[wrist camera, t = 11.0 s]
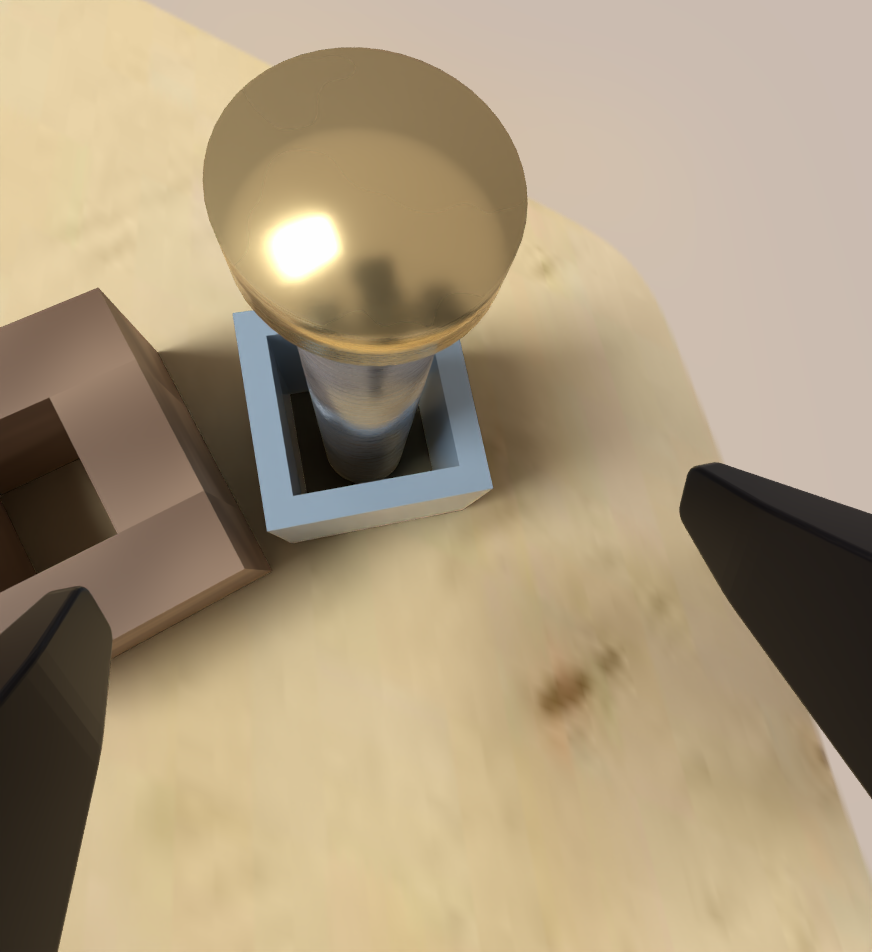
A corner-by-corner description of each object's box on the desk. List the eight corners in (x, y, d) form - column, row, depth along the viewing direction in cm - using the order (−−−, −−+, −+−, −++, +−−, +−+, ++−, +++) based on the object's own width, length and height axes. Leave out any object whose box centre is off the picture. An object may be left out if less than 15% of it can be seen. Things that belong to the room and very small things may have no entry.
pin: (437, 470, 21) (582, 262, 7) (338, 519, 20) (291, 387, 6) (388, 377, 21) (438, 13, 7) (289, 421, 20) (148, 101, 7)
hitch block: (272, 571, 19) (244, 568, 15) (8, 715, 17) (-114, 761, 13) (156, 351, 20) (98, 287, 16) (-106, 467, 18) (-256, 431, 14)
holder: (462, 510, 20) (493, 488, 15) (291, 543, 19) (267, 531, 14) (428, 352, 21) (447, 285, 16) (264, 376, 20) (232, 313, 15)
